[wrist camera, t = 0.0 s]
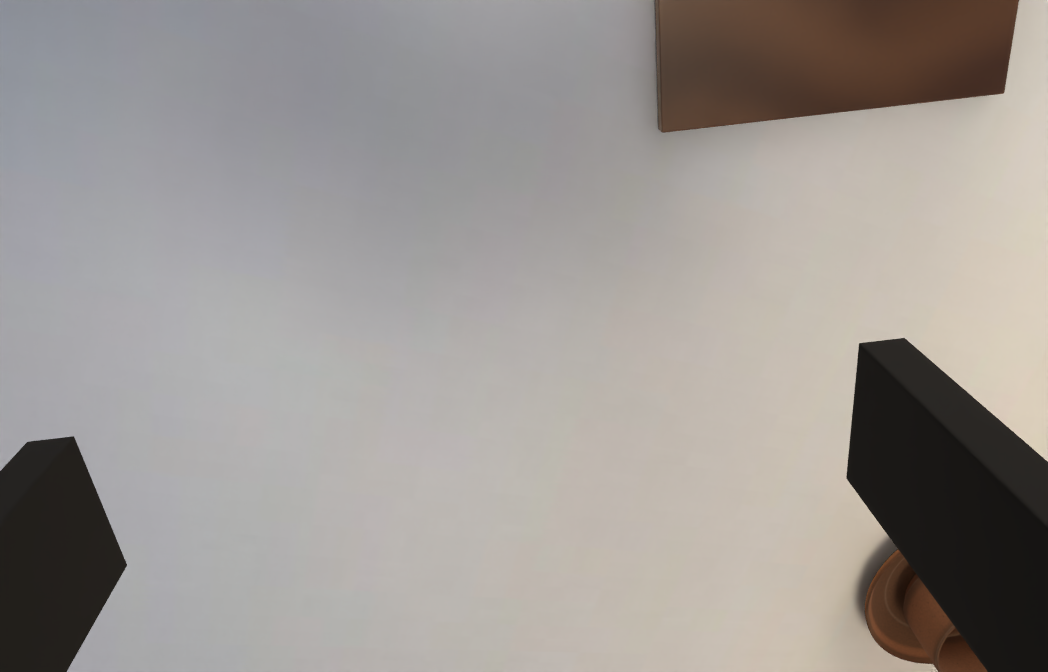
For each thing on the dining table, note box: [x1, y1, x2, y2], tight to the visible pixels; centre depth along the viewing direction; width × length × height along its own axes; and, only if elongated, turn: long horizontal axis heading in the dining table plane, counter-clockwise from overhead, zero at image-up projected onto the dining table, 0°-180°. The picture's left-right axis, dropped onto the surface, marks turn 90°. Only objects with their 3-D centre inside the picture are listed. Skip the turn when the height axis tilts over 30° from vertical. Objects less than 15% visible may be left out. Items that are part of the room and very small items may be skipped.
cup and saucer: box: [865, 549, 988, 672], centre depth 50 cm, size 12×12×6 cm
